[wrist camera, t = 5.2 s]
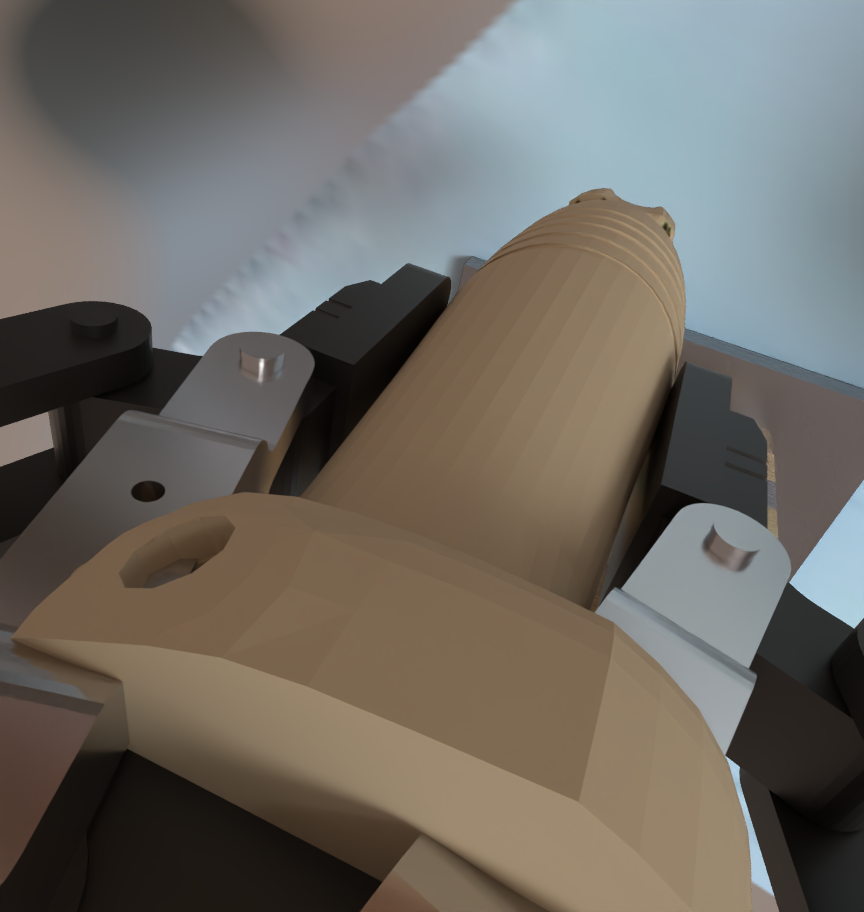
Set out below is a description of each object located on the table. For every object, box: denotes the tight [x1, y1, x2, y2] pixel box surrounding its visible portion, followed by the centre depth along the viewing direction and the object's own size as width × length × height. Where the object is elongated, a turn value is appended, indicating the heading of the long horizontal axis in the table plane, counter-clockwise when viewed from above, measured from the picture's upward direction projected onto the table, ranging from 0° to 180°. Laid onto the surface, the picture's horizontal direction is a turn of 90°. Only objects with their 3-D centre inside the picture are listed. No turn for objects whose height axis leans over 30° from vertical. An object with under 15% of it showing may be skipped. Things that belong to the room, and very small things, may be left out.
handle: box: [11, 188, 752, 912], centre depth 11 cm, size 5×6×15 cm
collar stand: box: [458, 256, 864, 613], centre depth 29 cm, size 17×16×6 cm
